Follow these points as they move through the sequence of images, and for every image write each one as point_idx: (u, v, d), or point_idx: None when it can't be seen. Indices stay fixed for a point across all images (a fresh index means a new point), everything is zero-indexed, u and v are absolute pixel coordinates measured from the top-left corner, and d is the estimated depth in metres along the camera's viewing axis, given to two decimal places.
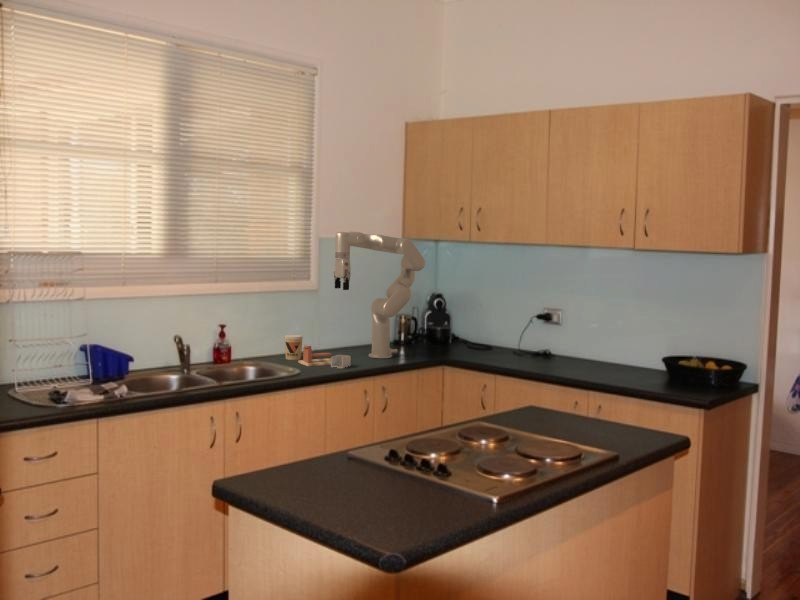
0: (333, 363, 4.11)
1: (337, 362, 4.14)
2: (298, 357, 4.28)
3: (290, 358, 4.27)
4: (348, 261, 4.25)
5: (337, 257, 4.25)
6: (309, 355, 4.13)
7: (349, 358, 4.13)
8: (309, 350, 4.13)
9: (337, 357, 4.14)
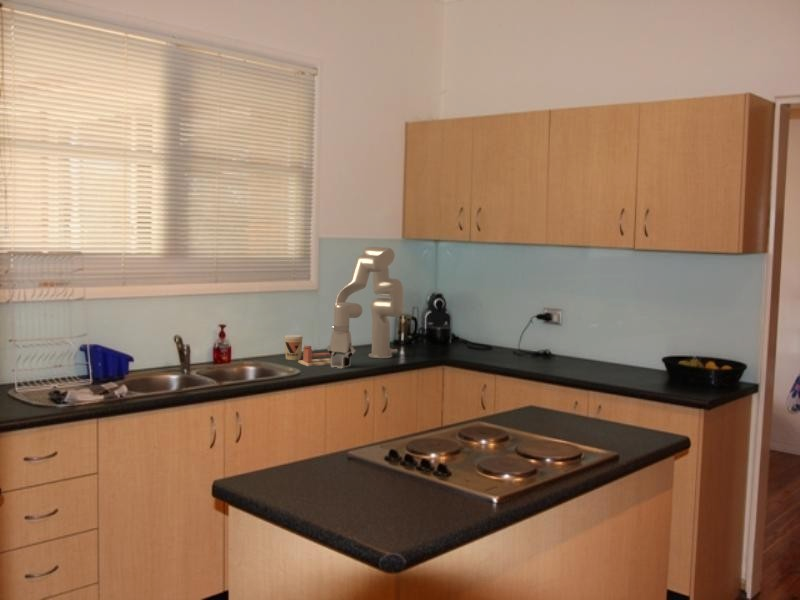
0: (333, 363, 4.11)
1: (337, 362, 4.14)
2: (298, 357, 4.28)
3: (290, 358, 4.27)
4: None
5: None
6: (309, 355, 4.13)
7: None
8: (309, 350, 4.13)
9: (337, 357, 4.14)
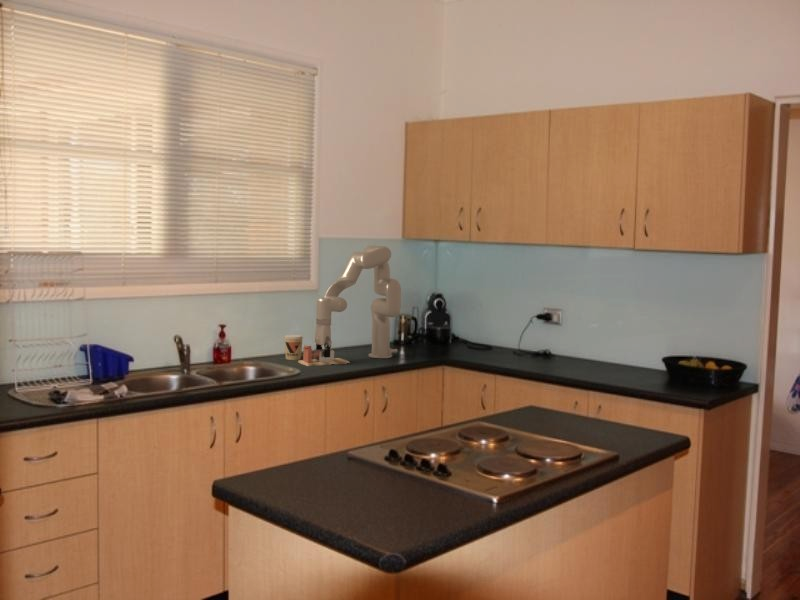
0: None
1: None
2: (298, 357, 4.28)
3: (290, 358, 4.27)
4: None
5: None
6: (309, 355, 4.13)
7: (332, 353, 4.19)
8: (309, 350, 4.13)
9: None
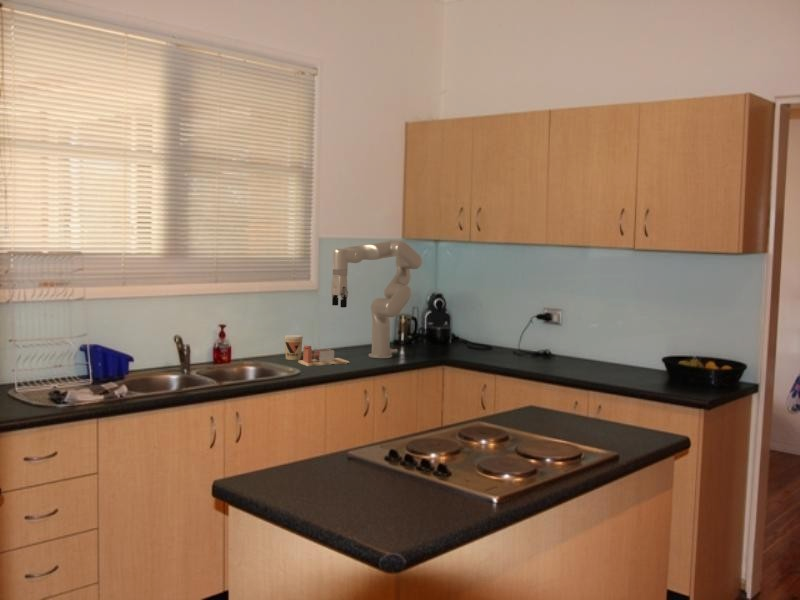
0: None
1: None
2: (298, 357, 4.28)
3: (290, 358, 4.27)
4: None
5: None
6: (309, 355, 4.13)
7: (332, 353, 4.19)
8: (309, 350, 4.13)
9: (324, 351, 4.24)
